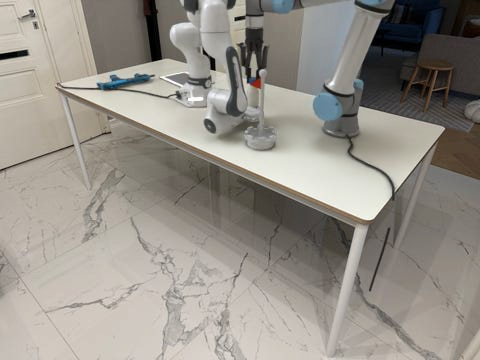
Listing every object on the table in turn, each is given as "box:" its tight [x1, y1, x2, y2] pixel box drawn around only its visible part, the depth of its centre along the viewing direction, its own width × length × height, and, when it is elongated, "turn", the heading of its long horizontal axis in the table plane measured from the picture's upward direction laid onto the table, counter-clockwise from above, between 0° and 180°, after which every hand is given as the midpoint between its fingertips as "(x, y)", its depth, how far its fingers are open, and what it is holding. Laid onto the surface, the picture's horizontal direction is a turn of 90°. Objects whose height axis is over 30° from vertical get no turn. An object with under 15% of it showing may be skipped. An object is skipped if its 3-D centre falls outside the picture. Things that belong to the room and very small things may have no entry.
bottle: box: [246, 84, 260, 108], centre depth 156 cm, size 6×6×19 cm
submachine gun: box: [95, 72, 156, 91], centre depth 209 cm, size 34×4×25 cm
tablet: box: [158, 70, 215, 88], centre depth 212 cm, size 32×20×1 cm, turn 41°
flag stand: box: [244, 68, 278, 151], centre depth 131 cm, size 13×13×30 cm
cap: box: [248, 76, 256, 85], centre depth 151 cm, size 4×4×2 cm
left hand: (253, 106), depth 158 cm, fingers closed on bottle, 5 cm apart
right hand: (253, 83), depth 152 cm, fingers closed on cap, 4 cm apart
